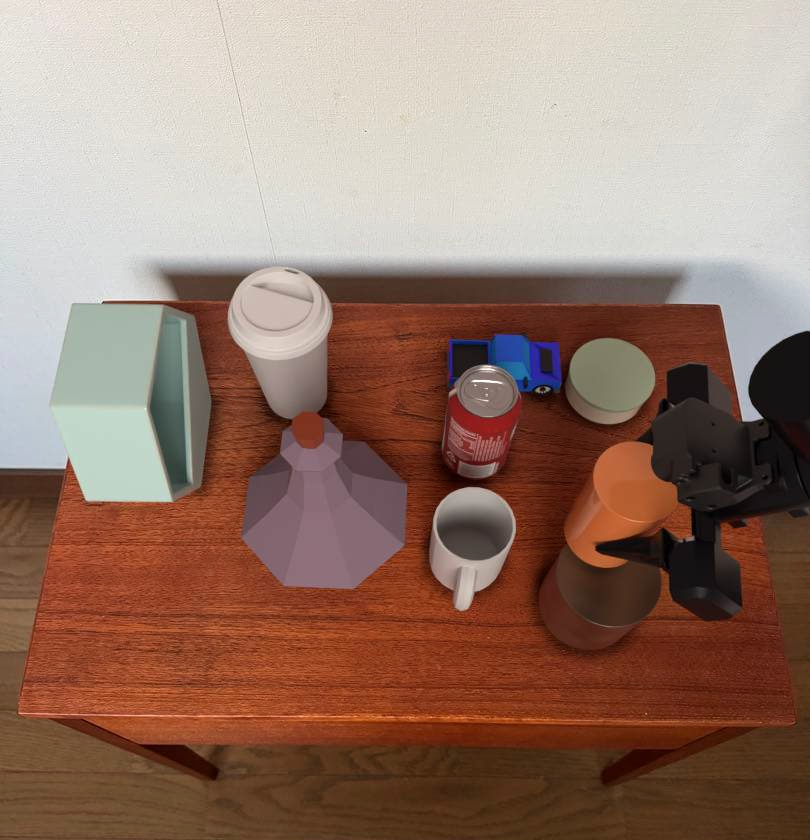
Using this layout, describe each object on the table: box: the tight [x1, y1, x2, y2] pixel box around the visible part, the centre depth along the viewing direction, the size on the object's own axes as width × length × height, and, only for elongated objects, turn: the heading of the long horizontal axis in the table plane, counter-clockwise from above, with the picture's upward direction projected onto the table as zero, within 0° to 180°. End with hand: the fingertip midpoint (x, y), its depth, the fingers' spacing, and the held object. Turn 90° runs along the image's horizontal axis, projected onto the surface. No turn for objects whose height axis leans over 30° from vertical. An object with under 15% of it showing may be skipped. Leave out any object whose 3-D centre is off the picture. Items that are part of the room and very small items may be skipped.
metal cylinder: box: [537, 542, 663, 651], centre depth 66 cm, size 9×9×8 cm
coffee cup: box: [227, 265, 334, 421], centre depth 72 cm, size 10×10×15 cm
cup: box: [428, 486, 517, 612], centre depth 67 cm, size 7×10×9 cm
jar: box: [564, 337, 656, 425], centre depth 78 cm, size 9×9×3 cm
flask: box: [240, 412, 408, 590], centre depth 63 cm, size 16×16×20 cm
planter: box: [49, 302, 212, 503], centre depth 68 cm, size 17×8×21 cm
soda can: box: [441, 365, 523, 481], centre depth 70 cm, size 7×7×12 cm
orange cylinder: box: [563, 440, 680, 568], centre depth 58 cm, size 7×7×10 cm
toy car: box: [446, 331, 562, 397], centre depth 77 cm, size 7×12×5 cm, turn 89°
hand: (598, 510), depth 59 cm, fingers closed on orange cylinder, 6 cm apart
